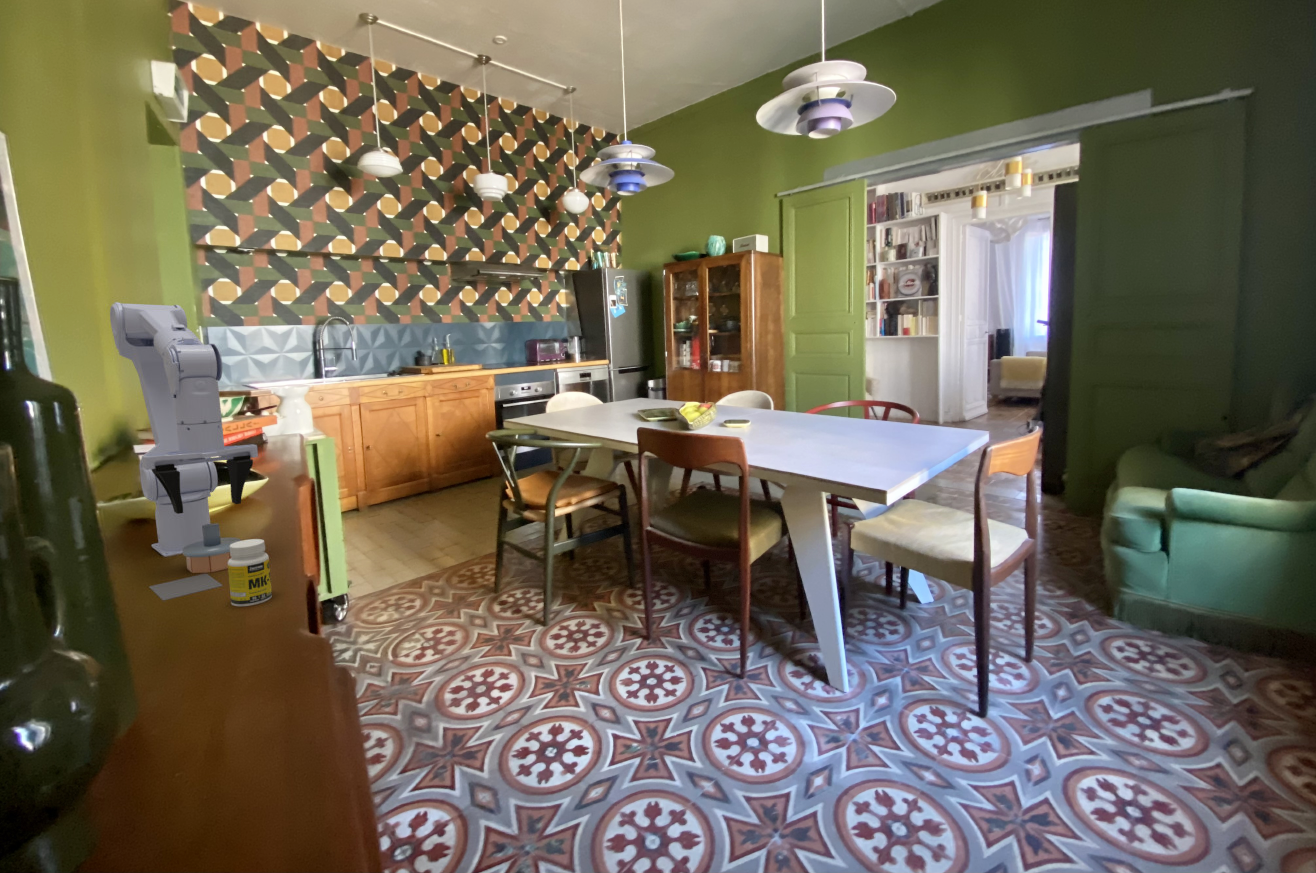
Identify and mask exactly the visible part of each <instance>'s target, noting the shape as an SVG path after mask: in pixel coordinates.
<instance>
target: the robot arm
mask: <svg viewBox="0 0 1316 873" xmlns="http://www.w3.org/2000/svg"><path fill="white" fill-rule="evenodd" d="M109 317H110V319H109V320H110V326H111V332H112V336H113V339H114V344H115V348H116V349H117V350H118V355H119V356H121V357H123V358H126V359H128V360H130V361H131V362H132V364H133V365H134V368H135V371H136V373H137V375H138V379H139V384H140V386H141V391H142V395H143V399H144V403H145V408H146V411H147V416H148V420H149V425H150V428H151V434H152V437H153V442H154V444H155V446H154V447H152V448H151V449H149V450H148V451H147V452H145V453H144V454H143V455H142V456H141V458H140V461H139V465H138V466H139V473H140V477H139V478H140V483H141V484H140V485H141V490H142V493H143V496H144V498H146V500H148V501H149V502H154V503H155V511H154V516H155V525H156V526H155V527H156V534H157V540H158V542H156V543H153V544H151V547H152V548H153V549H154V550H155V551H157V552H158V553H159V554H160V555H161V556H163V557H164V558H165V557H166V558H167V557H173V556H176V555H180V554H183V548H184V547H185V546H187V545H189V544H192V543H195V542H199V541H203V532H202V526H203V525H206V524H211V518H210V506H209V498H210V497H211V493H213V492H214V491H215V490H216V489H217V487H218V480H219V477H218V472H217V471H218V470H217V468H216V465H215V463H214V462H218V461H219V462H220V461H225V462H226V467H227V470H228V475H229V484H230V498H231V503H232V504H234V505H241V503H242V497H243V490H244V487H245V485H246V484H245V483H246V481H247V477H248V476H249V473H250V471H251V470H252V468H253V464H254V460H253V459H252V458H258V457H259V454H258V453H259V452H258V445H257V444H243V445H226V446H225V438H224V431H223V430H224V429H223V419H222V418H223V417H222V409H221V401H220V400H221V398H220V390H219V381H220V380H221V379H222V376H223V360H222V354H221V351H220V349H219V347H218V345H217V344H216V343H208V344H203V342H202V341H201V340H200V338H199V337H198V336H197V335H196V334H195V333H194V332H193V331H192V330H191V329H189V328H188V320H187V315H186V311H185V310H184V308H183V307H181V306H180V305H179V304H174V305H169V304H168V305H167V304H166V305H165V304H163V305H162V304H142V303H141V304H140V303H121V302H120V301H119V302H117V301H115V302H114V303H112V304H111V306H110V310H109Z"/></svg>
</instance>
